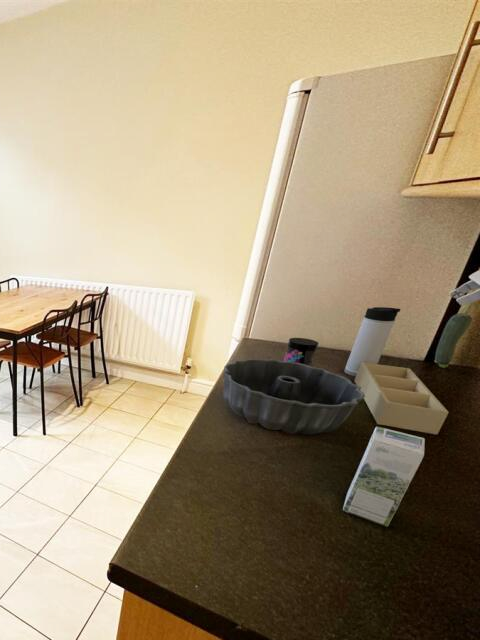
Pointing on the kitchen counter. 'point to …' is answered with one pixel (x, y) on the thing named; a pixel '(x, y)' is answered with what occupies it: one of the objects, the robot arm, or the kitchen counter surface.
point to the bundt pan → (289, 395)
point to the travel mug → (371, 338)
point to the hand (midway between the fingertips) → (454, 299)
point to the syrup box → (384, 475)
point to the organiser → (400, 398)
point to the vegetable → (453, 335)
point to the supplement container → (300, 351)
